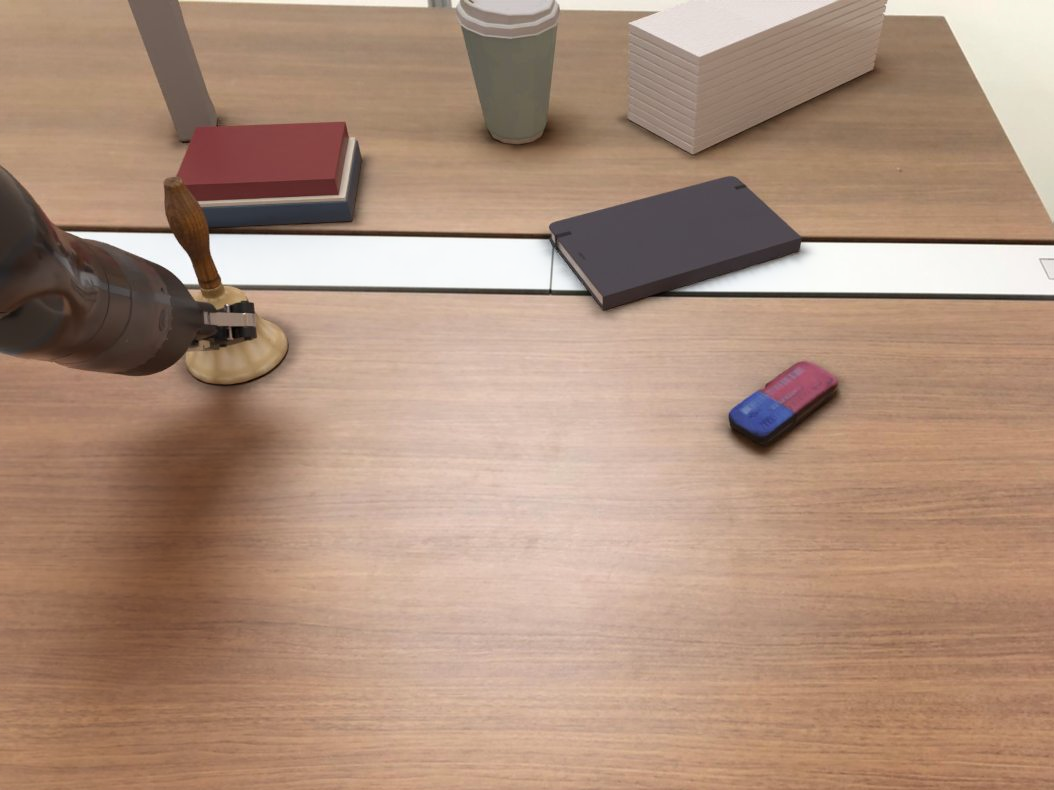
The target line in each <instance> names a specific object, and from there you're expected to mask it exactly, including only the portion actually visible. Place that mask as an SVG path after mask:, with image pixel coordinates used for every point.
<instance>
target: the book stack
mask: <svg viewBox="0 0 1054 790" xmlns="http://www.w3.org/2000/svg"><path fill="white" fill-rule="evenodd" d="M360 149H361V148H360V143H359V140H358V139H357V137H355V136H353V137H350V136H349V131H348V127H347V123H346V121H324V122H322V121H321V122H298V123H297V122H296V123H295V122H294V123H271V124H270V123H269V124H268V123H267V124H243V125H241V124H239V125H221V126H220V125H216V126H212V127H196V129H195V131H194V134H193V136H192V138H191V141H189V144H188V146H187V149H186V151H185V154H184V156H183V159H182V161H181V163H180V166H179V169H178V170H177V173H176V175H175V177H179V178H181V179H182V181H183V183H184V184H185V186H186V187H187V189H188V190H189V191H190V192H191V193H192V194H193V196H194V197H195V199H196V200H197V201H198V203H199V205H200V206H201V208H202V210H203V213H204V215H205V218H206V221H207V225H208V229H209V228H210V229H211V228H230V227H231V228H232V227H233V228H234V227H253V226H255V227H257V226H272V225H273V226H276V225H295V224H296V225H297V224H319V223H320V224H321V223H339V222H353V217H354V211H355V204H356V199H357V191H358V185H359V179H360V173H361V166H362V160H363V159H362V158H363V157H362V154H361V150H360Z"/></svg>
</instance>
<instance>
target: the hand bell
mask: <svg viewBox="0 0 1054 790" xmlns="http://www.w3.org/2000/svg"><path fill="white" fill-rule="evenodd" d="M162 184H163V192H164V195H163V196H164V201H163V202H164V212H165V217H166V220H167V223H168V225H169V228H170V230H171V232H172V235H173V236H174V238H175V240H176V241H177V243H178V244H179V245H180V247H181V248H182V249H183V250H184V252H185V253H186V254H187V256H188V258H189V260H190V262H191V265H192V268H193V271H194V274H195V276H196V280H197V283H198V286H199V290H200V292H198V293H197V294H196V295H195V296H193V299H194V300H195V301H199V302H207V303H210V304H212V305H214V306H215V308H216V309H217V310H218V309H221V308H223V307H224V305H226V304H230V305H232V304H234V303H238V302H241V301H248V302H250V300H249V298H248V296H247V295H246V293H245V292H244V291H242V290H241V289H240V288H237V287H236V286H231V285H223V282H222V278H221V275H220V273H219V272H218V268H217V266H216V264H215V262H214V259H213V256H212V254H211V246H210V245H211V243H210V242H211V240H210V231H209V228H208V225H207V221H206V218H205V215H204V213H203V210H202V208H201V206H200V205H199V203H198V201H197V200H196V199H195V197H194V196H193V194H192V193H191V192H190V191H189V190H188V189H187V187H186V186H185V184H184V183H183V181H182V179H181V178H179V177H176V176H169V177H167V178H165V179H164V180H163V183H162ZM255 319H256V330H257V338H255V339H252V340H249V341H244V342H241V343H237V344H233V345H228V346H227V347H220V349H219V350H210V351H191V352H185V357H184V359H185V360H184V361H185V366H186V369H187V370H188V372H189V373H190V374H191V376H193V377H195V378H196V379H197V380H199V381H201V382H203V383H208V384H213V385H234V384H241V383H245V382H248V381H251V380H254V379H256V378H259V377H260V376H264V375H265V374H267V373H268V372H270V371H272V370H273V369H274V368H275V367H276V366H278V365H279V364H280V362H281V361H283V359H284V357H285V356H286V354H287V352H288V347H289V341H288V337H287V335H286V333H285V332H284V331H283V330H282V329H281V328H280V327H279V326H278V325H276V324H275V323H273V322H271V321H269V320H266V319H263V318H261V316H260V315H259V314H258V313H257V312H256V311H255Z"/></svg>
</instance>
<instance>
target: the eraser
mask: <svg viewBox="0 0 1054 790" xmlns="http://www.w3.org/2000/svg"><path fill="white" fill-rule="evenodd" d="M838 386H839V380H838V378H837V377H836V376H835V375H834V374H832V373H831V372H830V371H828V370H826V369H825V368H823V367H821V366H819V365H818V364H816V363H813V362H812V361H808V360H801V361H798V362H796V363H794V364H793V365H791V366H789V368H788V369H786V370H784V371H782V372H781V373H779V374H778V375H777V376H776V377H774V378H773V379H772V380H770V381H768V382H767V383H765V385H764V387H763V388H761V389H758V390H757V391H755V392H753V393H752V394H750V395H748V396H747V397H746V398H745V399H743V400H742V401H741V402H740V403H738V404H736V405H735V406H734V407H732V409H731V410H730V411H729V412H728V421H729V426H730V427H731V428H733V429H734V430H735V431H737V432H739V433H740V434H742V435H743V436H745V437H746V438H748V439H750V440H752V441H753V442H755V443H757V444H758V445H759V444H760V445H762V446H766V447H769V446H771V445H772V444H774V443H775V442H777V441H778V440H780V439H781V438H782V437H784V436H786V434H788V433H789V432H791V431H792V429H794V428H795V427H796V426H797V425H798V424H801V422H802V421H804V420H805V419H806V418H807V417H809V416H810V415H811V414H812V413H814V412H815V411H817V410H818V409H819V408H820V407H822V405H824V404H826V403H827V402H828V401H829V400H830V399H831V398H833V396H834V395H835V392H836V391H837V389H838Z"/></svg>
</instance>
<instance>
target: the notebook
mask: <svg viewBox="0 0 1054 790" xmlns="http://www.w3.org/2000/svg"><path fill="white" fill-rule="evenodd" d="M548 229H549V231H550V232H551V235H550V236H549V241H550V243H551V245H552V246H553V247H554V248H555V250H556V251H557V253H558V254H559V255H560V256H561V258H562V259H563V260H564V261H565V262H566V264H567V265H568V267H569V268H570V269H571V270H572V272H573V273H574V274H575V276H576V277H577V278H578V280H579V281H580V282H581V284H582V285H583V286H584V288H585V289H586V290H587V291H588V292H589V294H590V295H591V296H592V298H593V299H594V300H595V302H596V303H597V304H598V305H599V307H600V308H601V309H602V311H604V310H608V309H611V308H614V307H618V306H622V305H624V304H628V303H632V302H634V301H638V300H642V299H644V298H645V299H646V298H648V297H651V296H655V295H657V294H661V293H664V292H668V291H671V290H674V289H677V288H682V287H684V286H688V285H690V284H694V283H698V282H701V281H704V280H708V279H710V278H715V277H718V276H721V275H725V274H727V273H728V274H729V273H732V272H735V271H737V270H740V269H745V268H747V267H751V266H754V265H757V264H760V263H763V262H764V263H765V262H767V261H770V260H771V261H772V260H774V259H777V258H781V257H784V256H786V255H790V254H793V253H797V252H800V251H801V245H802V240H803V237H802V236H801V235H800V234H799V233H798V232H797V231H796V230H795V229H793V228H792V226H790V225H789V224H788V223H787V222H786V221H785V220H784V219H783V218H782V217H780V216H779V215H778V214H777V213H776V212H775V211H774V210H773V209H772V208H771V207H769V205H767V204H766V203H765V202H764V201H763V200H762V199H761V198H760V197H759V196H758V195H757V194H755V193H754V191H752V190H751V189H750V188H749V187H748V186H747V185H746V183H744V182H743V181H742V180H740V179H739V178H738V177H736V176H734V175H728V176H723V177H720V178H719V177H718V178H715V179H712V180H708V181H704V182H700V183H696V184H693V185H688V186H684V187H681V188H678V189H674V190H670V191H666V192H662V193H659V194H658V193H657V194H655V195H651V196H647V197H643V198H640V199H635V200H632V201H628V202H624V203H621V204H617V205H613V206H609V207H606V208H602V209H598V210H594V211H590V212H586V213H582V214H579V215H574V216H571V217H567V218H564V219H559V220H555V221H554V222H551V223H549V225H548Z"/></svg>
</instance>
